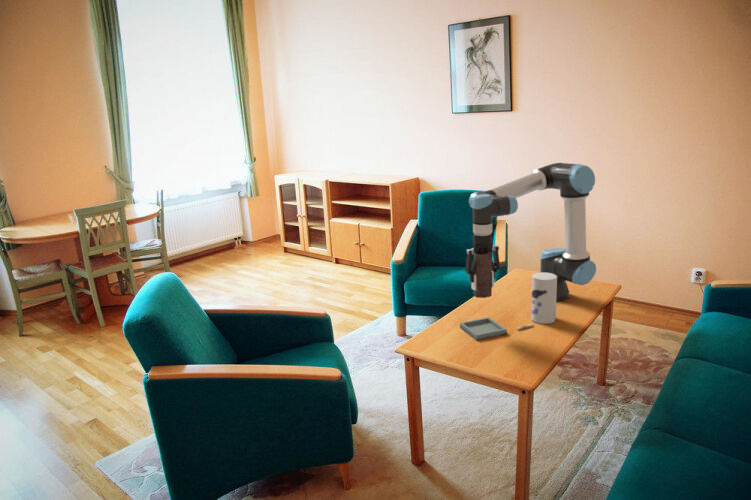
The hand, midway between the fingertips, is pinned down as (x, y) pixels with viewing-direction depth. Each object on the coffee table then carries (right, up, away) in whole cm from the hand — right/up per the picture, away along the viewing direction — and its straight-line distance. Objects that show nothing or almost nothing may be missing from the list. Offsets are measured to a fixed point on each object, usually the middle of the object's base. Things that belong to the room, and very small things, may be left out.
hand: (482, 287), depth 215 cm
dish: (+1, -18, +5) cm, 19 cm away
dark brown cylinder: (0, -4, +1) cm, 4 cm away
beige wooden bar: (+19, -18, +6) cm, 26 cm away
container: (+29, -15, +13) cm, 35 cm away
